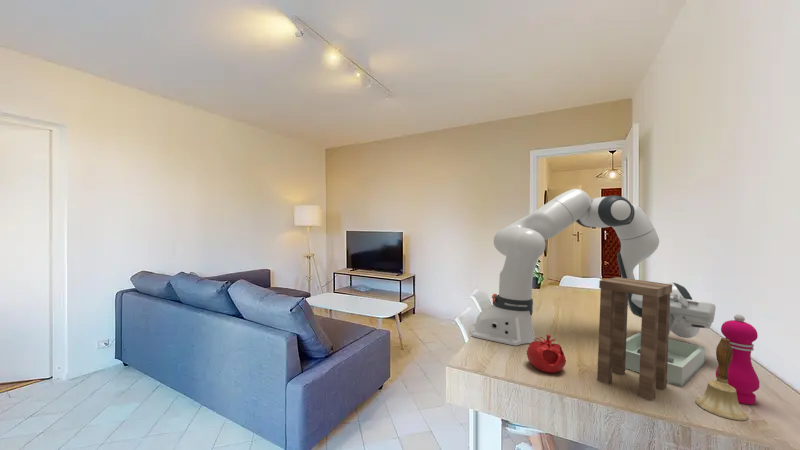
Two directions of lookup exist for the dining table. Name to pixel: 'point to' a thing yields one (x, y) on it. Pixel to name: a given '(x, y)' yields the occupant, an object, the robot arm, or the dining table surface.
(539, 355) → the pomegranate
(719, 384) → the hand bell
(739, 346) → the pepper mill
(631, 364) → the tray
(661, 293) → the stand
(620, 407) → the dining table surface
